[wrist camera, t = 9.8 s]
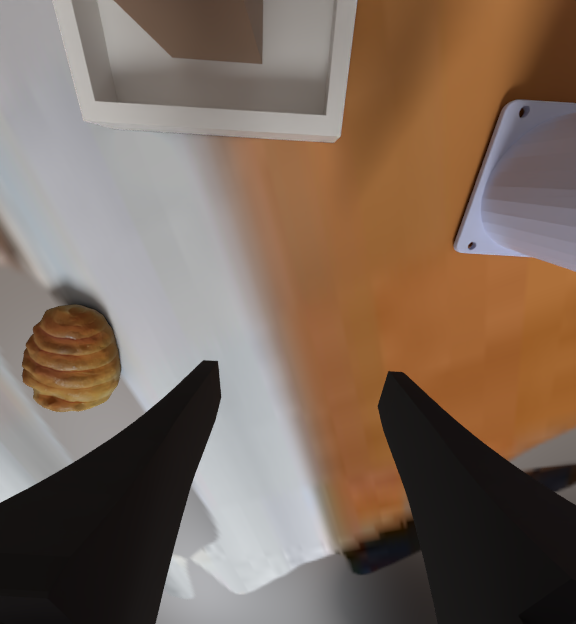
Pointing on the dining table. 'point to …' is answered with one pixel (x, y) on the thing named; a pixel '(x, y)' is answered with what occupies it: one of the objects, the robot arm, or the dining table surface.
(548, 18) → the dining table surface
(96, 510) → the robot arm
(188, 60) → the bin
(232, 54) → the beige block
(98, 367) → the pastry
